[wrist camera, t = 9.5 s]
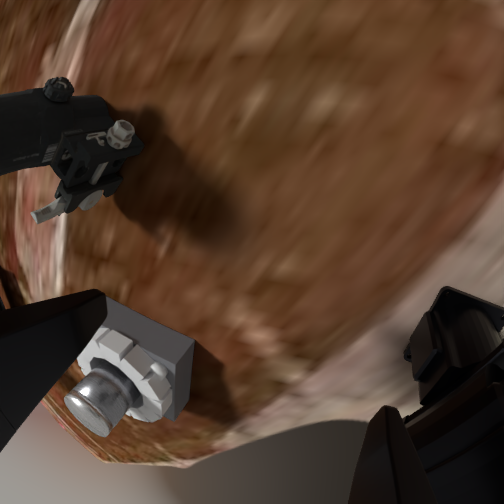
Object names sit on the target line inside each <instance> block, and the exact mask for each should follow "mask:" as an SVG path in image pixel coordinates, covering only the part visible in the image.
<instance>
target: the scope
mask: <svg viewBox="0 0 504 504" xmlns="http://www.w3.org/2000/svg"><path fill="white" fill-rule="evenodd" d="M73 92H74V88H73V86H72V84H71V82H69V80H68V79H67V78H64V77H60V78H58V77H56V78H52V79H49V80H48V81H47V82H46V83H45V87H44V88H35V89H29V90H28V89H27V90H25V91H21V92H14V93H8V94H2V95H0V176H1V175H4V174H7V173H11V172H14V171H18V170H21V169H26V168H33V167H40V166H47V165H50V166H51V168H52V169H53V170H54V172H55V173H56V175H57V176H58V177H59V178H60V179H61V181H60V183H59V186H58V188H57V191H56V193H55V198H56V200H55V201H53V202H52V203H50V204H49V205H47V206H45V207H44V208H41V209H39V210H36V211H33V212H31V215H32V217H33V218H34V220H35V221H36V223H37V224H39V223H42V222H44V221H46V220H49V219H51V218H53V217H55V216H56V215H58V216H60V215H61V214H62V213H64V212H65V213H67V214H68V213H70V212H72V211H74V210H75V209H76V208H77V207H78V206H79V207H80V208H81V209H82V210H88V209H90V208H92V207H93V206H94V205H95V204H96V203H97V202H98V201H99V199H100V198H101V196H102V190H104V192H103V195H104V196H105V197H109V196H111V195H112V194H113V193H114V192H115V191H116V189H117V188H118V186H119V185H120V183H121V182H122V180H123V178H122V177H118V176H117V175H116V174H115V172H117V171H119V169H120V167H121V166H122V164H123V163H124V161H125V160H126V158H127V157H130V156H134V155H139V153H140V152H141V151H142V149H143V148H144V144H143V142H142V141H141V140H140V139H139V138H138V137H137V135H136V134H135V131H134V127H133V126H132V125H131V124H130V123H129V122H127V121H125V120H119V121H116V123H115V122H114V121H113V120H112V119H111V117H110V116H109V113H108V108H107V105H106V103H105V101H104V100H103V99H102V98H101V97H100V96H97V95H85V96H72V94H73ZM120 123H121V124H120Z"/></svg>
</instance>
